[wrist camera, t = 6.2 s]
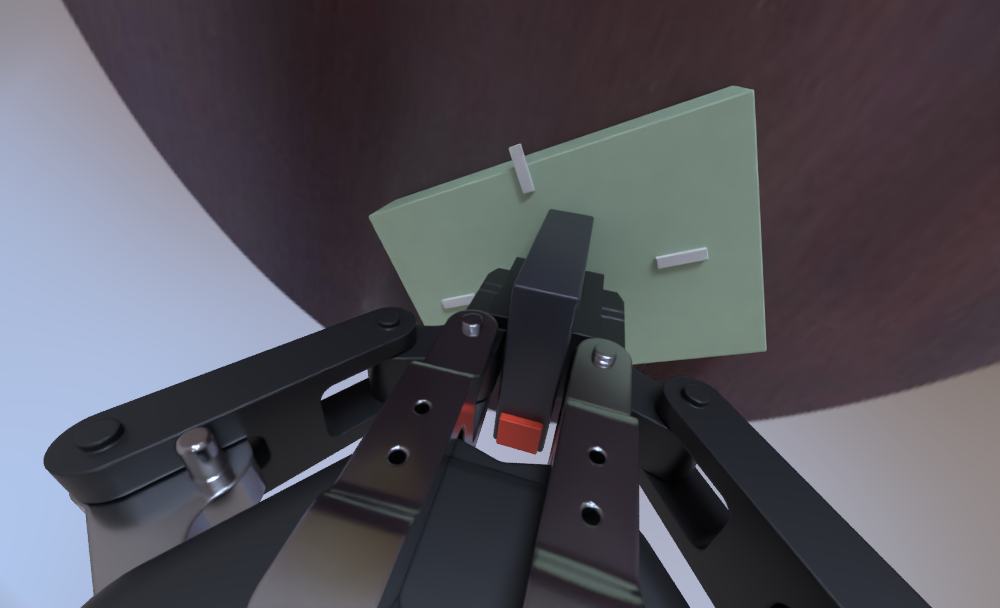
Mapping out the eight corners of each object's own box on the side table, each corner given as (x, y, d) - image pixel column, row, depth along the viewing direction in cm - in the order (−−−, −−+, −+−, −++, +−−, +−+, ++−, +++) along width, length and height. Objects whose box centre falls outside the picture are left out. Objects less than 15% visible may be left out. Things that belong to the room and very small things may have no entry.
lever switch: (732, 61, 10) (755, 60, 9) (751, 331, 14) (769, 369, 13) (387, 185, 15) (356, 201, 13) (472, 364, 19) (457, 395, 17)
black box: (549, 207, 12) (509, 290, 8) (594, 215, 12) (579, 305, 7) (527, 334, 15) (490, 446, 10) (564, 342, 14) (540, 461, 10)
